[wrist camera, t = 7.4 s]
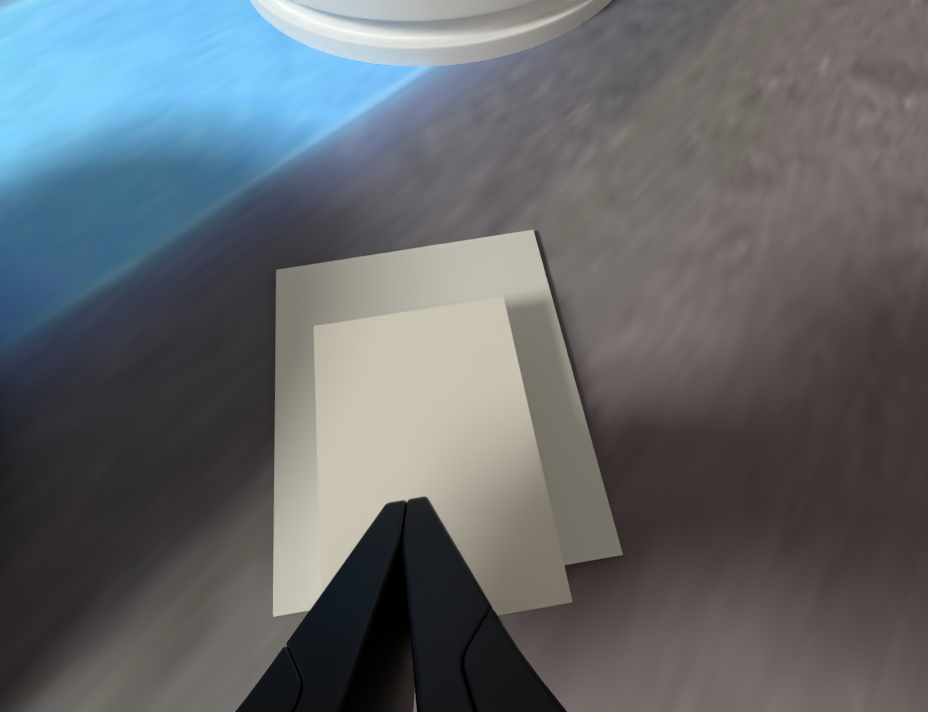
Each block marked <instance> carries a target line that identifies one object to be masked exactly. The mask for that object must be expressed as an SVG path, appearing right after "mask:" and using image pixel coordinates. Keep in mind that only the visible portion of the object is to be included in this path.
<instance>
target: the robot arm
mask: <svg viewBox="0 0 928 712" xmlns="http://www.w3.org/2000/svg"><path fill="white" fill-rule="evenodd" d="M286 645H287V647H284V648H283V649H282V650H281V651H280V653H279V654H278V656H277V657H276V658H275V660H274V661H273V663H272V664H271V665H270V667H269V668H268V669H267V671H266V672H265V674H264V675H263V676H262V678H261V679H260V680H259V682H258V683H257V684H256V686H255V687H254V688H253V690H252V691H251V692H250V694H249V695H248V696H247V698H246V699H245V700H244V702H243V703H242V704H241V705H240V707H239V708H238V709H237V710H236V711H235V712H413V706H414V690H415V694H416V704H417V712H567V711H566V710H565V709H564V707H563V706H562V705H561V704H560V702H559V701H558V700H557V699H556V697H555V696H554V695H553V694H552V692H551V691H550V690H549V689H548V687H547V686H546V685H545V684H544V682H543V681H542V680H541V679H540V677H539V676H538V675H537V673H536V672H535V671H534V669H533V668H532V667H531V665H530V664H529V662H528V661H527V660H526V658H525V657H524V656H523V654H522V653H521V652H520V650H519V649H518V647H517V646H516V644H515V643H514V641H513V639H512V638H511V636H510V635H509V633H508V632H507V630H506V629H505V627H504V625H503V624H502V622H501V620H500V619H499V617H498V615H497V614H496V612H495V610H493V608H492V606H491V604H490V602H489V600H488V599H487V597H486V595H485V594H484V592H483V590H482V589H481V587H480V585H479V583H478V582H477V580H476V578H475V577H474V575H473V573H472V572H471V570H470V568H469V567H468V565H467V563H466V561H465V560H464V558H463V556H462V555H461V553H460V551H459V550H458V548H457V546H456V544H455V543H454V541H453V539H452V538H451V536H450V534H449V533H448V531H447V529H446V528H445V526H444V524H443V522H442V521H441V519H440V517H439V516H438V514H437V512H436V511H435V509H434V507H433V505H432V504H431V502H430V500H429V499H428V498H427V497H426V496H423V497H417V498H411V499H409V500H408V501H407V502H406V501H405V500H400V501H394V502H389V503H387V504H385V506H384V507H383V508H382V510H381V511H380V513H379V514H378V515H377V517H376V518H375V520H374V521H373V522H372V524H371V525H370V527H369V528H368V529H367V531H366V532H365V534H364V535H363V536H362V538H361V539H360V541H359V542H358V543H357V545H356V546H355V548H354V549H353V550H352V552H351V553H350V555H349V556H348V557H347V559H346V560H345V562H344V563H343V565H342V566H341V567H340V569H339V570H338V572H337V573H336V574H335V576H334V577H333V579H332V580H331V581H330V583H329V584H328V586H327V587H326V588H325V590H324V591H323V593H322V594H321V595H320V597H319V598H318V600H317V601H316V602H315V604H314V605H313V607H312V608H311V609H310V611H309V612H308V614H307V615H306V617H305V618H304V619H303V621H302V622H301V624H300V625H299V626H298V628H297V629H296V631H295V632H294V633H293V635H292V636H291V638H290V639H289V640H288V642H287V644H286Z"/></svg>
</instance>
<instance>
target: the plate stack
mask: <svg viewBox="0 0 928 712" xmlns="http://www.w3.org/2000/svg"><path fill="white" fill-rule="evenodd" d="M250 1H251V3H252V4H253V6H254V7H255V8H256V10H257V11H258V12H259V13H260V14H261V15H262V16H263V17H264V18H265V19H266V20H267V21H268V22H269V23H270V24H272V25H273V26H274V27H276V28H277V29H278V30H280V31H281V32H283V33H284V34H286V35H288V36H289V37H291V38H293V39H295V40H297V41H299V42H301V43H303V44H305V45H307V46H310V47H312V48H315V49H317V50H320V51H323V52H326V53H329V54H332V55H336V56H340V57H343V58H348V59H352V60H357V61H362V62H369V63H376V64H384V65H396V66H441V65H453V64H462V63H470V62H476V61H482V60H487V59H492V58H497V57H501V56H505V55H509V54H513V53H516V52H520V51H523V50H526V49H529V48H532V47H535V46H537V45H540V44H543V43H545V42H548V41H550V40H552V39H555V38H557V37H559V36H561V35H563V34H565V33H567V32H569V31H571V30H573V29H574V28H576V27H578V26H579V25H581V24H583V23H584V22H586V21H587V20H589V19H590V18H592V17H593V16H594V15H596V14H597V13H598V12H600V11H601V10H602V9H603V8H604V7H606V6H607V5H608V4H609V3H610V2H611V1H612V0H250Z"/></svg>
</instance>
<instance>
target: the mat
mask: <svg viewBox="0 0 928 712" xmlns="http://www.w3.org/2000/svg"><path fill="white" fill-rule="evenodd" d="M501 296H503V297H504V301H505V305H506V310H507V314H508V319H509V323H510V328H511V332H512V336H513V341H514V345H515V350H516V354H517V358H518V363H519V367H520V372H521V376H522V381H523V385H524V389H525V394H526V398H527V403H528V407H529V412H530V416H531V420H532V425H533V429H534V434H535V438H536V443H537V447H538V451H539V456H540V460H541V465H542V469H543V474H544V478H545V482H546V487H547V491H548V496H549V500H550V505H551V509H552V513H553V518H554V522H555V527H556V531H557V536H558V540H559V544H560V549H561V553H562V558H563V562H564V565H569V564H574V563H580V562H586V561H591V560H597V559H603V558H608V557H614V556H620V555H623V553H622V549H621V546H620V542H619V538H618V535H617V531H616V527H615V524H614V520H613V517H612V513H611V509H610V506H609V502H608V498H607V495H606V491H605V488H604V484H603V480H602V477H601V473H600V470H599V466H598V462H597V459H596V455H595V451H594V448H593V444H592V441H591V437H590V433H589V430H588V426H587V422H586V419H585V415H584V412H583V408H582V404H581V401H580V397H579V394H578V390H577V386H576V383H575V379H574V375H573V372H572V368H571V365H570V361H569V357H568V354H567V350H566V346H565V343H564V339H563V336H562V332H561V328H560V325H559V321H558V318H557V314H556V310H555V307H554V303H553V299H552V296H551V292H550V289H549V285H548V281H547V278H546V274H545V270H544V267H543V263H542V260H541V256H540V252H539V249H538V245H537V241H536V238H535V234H534V231H533V230H529V231H523V232H516V233H510V234H504V235H497V236H491V237H484V238H478V239H471V240H465V241H458V242H452V243H446V244H439V245H433V246H426V247H420V248H413V249H407V250H401V251H394V252H388V253H381V254H375V255H368V256H362V257H355V258H349V259H343V260H336V261H330V262H323V263H317V264H310V265H304V266H297V267H291V268H285V269H278V270H276V349H275V458H274V567H273V617H275V616H280V615H286V614H292V613H297V612H303V611H309V610H310V609H311V608H312V607H313V605H314V604H315V602H316V601H317V600H318V598H319V597H320V595H321V577H320V542H319V506H318V471H317V435H316V400H315V364H314V329H313V326H318V325H324V324H331V323H337V322H343V321H350V320H356V319H362V318H369V317H375V316H381V315H387V314H394V313H400V312H406V311H413V310H419V309H425V308H432V307H438V306H444V305H450V304H457V303H463V302H469V301H476V300H482V299H488V298H494V297H501Z"/></svg>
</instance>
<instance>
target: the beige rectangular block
mask: <svg viewBox="0 0 928 712" xmlns="http://www.w3.org/2000/svg"><path fill="white" fill-rule="evenodd" d="M313 329H314V364H315V400H316V435H317V471H318V506H319V542H320V577H321V594H322V593H323V591H324V590H325V588H326V587H327V586H328V584H329V583H330V581H331V580H332V579H333V577H334V576H335V574H336V573H337V572H338V570H339V569H340V567H341V566H342V565H343V563H344V562H345V560H346V559H347V557H348V556H349V555H350V553H351V552H352V550H353V549H354V548H355V546H356V545H357V543H358V542H359V541H360V539H361V538H362V536H363V535H364V534H365V532H366V531H367V529H368V528H369V527H370V525H371V524H372V522H373V521H374V520H375V518H376V517H377V515H378V514H379V513H380V511H381V510H382V508H383V507H384V506H385V504H387V503H389V502H394V501H400V500H405V501H406V502H407V501H408V500H409V499H411V498H417V497H423V496H426V497H427V498H428V499H429V500H430V502H431V504H432V505H433V507H434V509H435V511H436V512H437V514H438V516H439V517H440V519H441V521H442V522H443V524H444V526H445V528H446V529H447V531H448V533H449V534H450V536H451V538H452V539H453V541H454V543H455V544H456V546H457V548H458V550H459V551H460V553H461V555H462V556H463V558H464V560H465V561H466V563H467V565H468V567H469V568H470V570H471V572H472V573H473V575H474V577H475V578H476V580H477V582H478V583H479V585H480V587H481V589H482V590H483V592H484V594H485V595H486V597H487V599H488V600H489V602H490V604H491V606H492V608H493V610H495V612H496V614H497V615H498V616H499V615H504V614H510V613H516V612H521V611H527V610H532V609H538V608H544V607H549V606H555V605H560V604H566V603H572V598H571V593H570V589H569V584H568V580H567V575H566V571H565V567H564V562H563V558H562V553H561V549H560V544H559V540H558V536H557V531H556V527H555V522H554V518H553V513H552V509H551V505H550V500H549V496H548V491H547V487H546V482H545V478H544V474H543V469H542V465H541V460H540V456H539V451H538V447H537V443H536V438H535V434H534V429H533V425H532V420H531V416H530V412H529V407H528V403H527V398H526V394H525V389H524V385H523V381H522V376H521V372H520V367H519V363H518V358H517V354H516V350H515V345H514V341H513V336H512V332H511V328H510V323H509V319H508V314H507V310H506V305H505V301H504V297H503V296H501V297H494V298H488V299H482V300H476V301H469V302H463V303H457V304H450V305H444V306H438V307H432V308H425V309H419V310H413V311H406V312H400V313H394V314H387V315H381V316H375V317H369V318H362V319H356V320H350V321H343V322H337V323H331V324H324V325H318V326H313Z"/></svg>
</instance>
